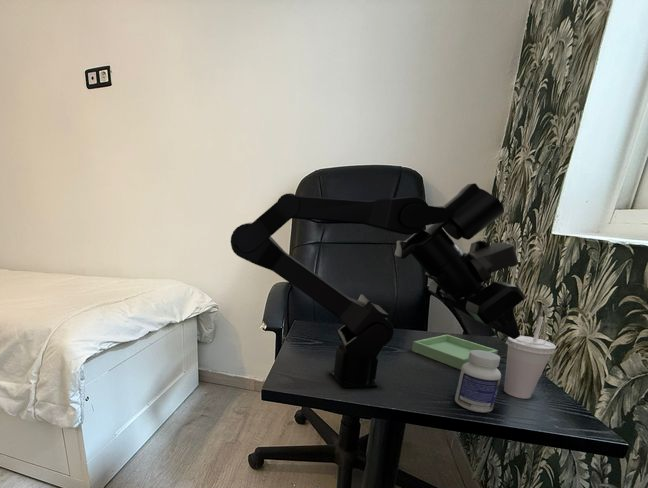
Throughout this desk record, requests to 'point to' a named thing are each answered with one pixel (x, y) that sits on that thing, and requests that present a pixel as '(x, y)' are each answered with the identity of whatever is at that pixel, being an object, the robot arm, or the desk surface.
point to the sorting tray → (448, 349)
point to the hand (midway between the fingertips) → (499, 328)
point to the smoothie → (526, 363)
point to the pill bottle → (479, 382)
